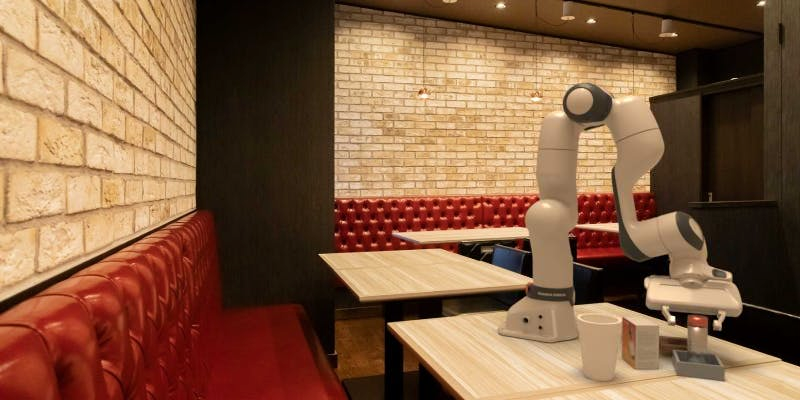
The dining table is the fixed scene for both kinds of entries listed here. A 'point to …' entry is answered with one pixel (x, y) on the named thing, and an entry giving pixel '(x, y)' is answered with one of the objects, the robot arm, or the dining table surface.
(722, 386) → the dining table surface
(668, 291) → the robot arm
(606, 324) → the foam cup
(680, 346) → the wooden square frame
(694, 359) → the red-lidded jar
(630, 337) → the small box
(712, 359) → the tray
